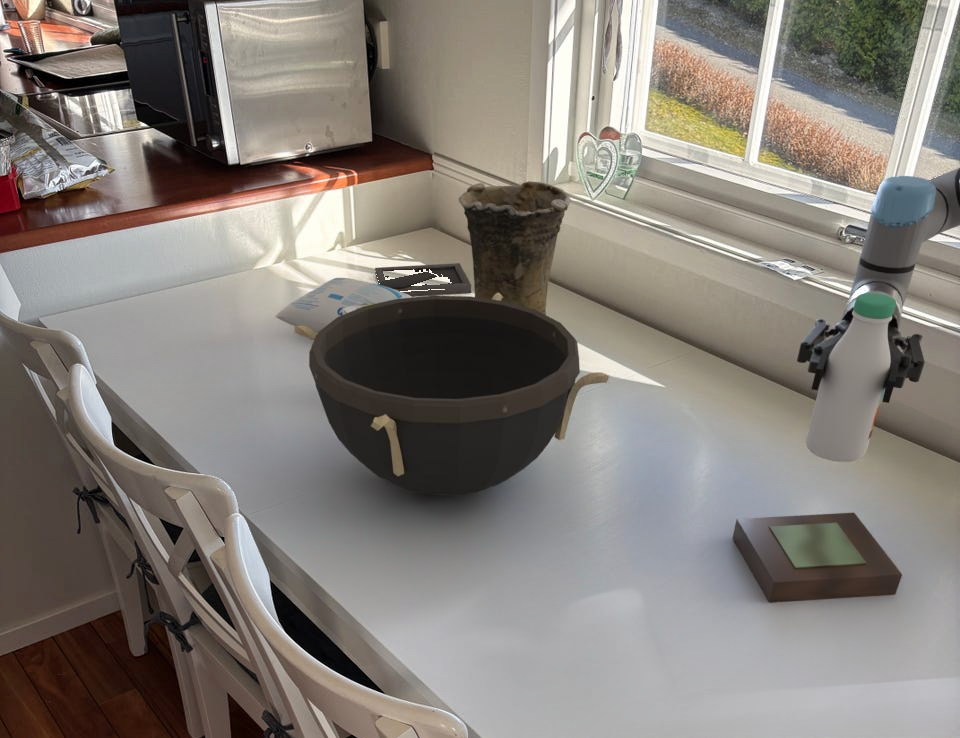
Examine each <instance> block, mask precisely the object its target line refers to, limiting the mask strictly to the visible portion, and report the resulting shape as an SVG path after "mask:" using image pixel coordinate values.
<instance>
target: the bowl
mask: <svg viewBox="0 0 960 738" xmlns="http://www.w3.org/2000/svg"><path fill="white" fill-rule="evenodd" d="M502 299H503V296H502V295H501V294H500V293H496V294H495V295H494V296H493V298H492V299H485V298H478V297H475V296H467V295H464V296H463V295H426V296H412V298H402V299H394V300H390V301H385V302H381V303H377V304H372V305H368V306H364V307H361V308H359V309H356V310H354V311H351V312H349V313H347V314H344V315H342V316H339V317H337V318H336V319H334V320H333V321H332V322H331V323H329V324H328V325H327V326H326V327H324V328H323V329H322V330H320V331H319V332H318V333H315V332H314V331H313V330H312V329H311V328H309V327H307V326H304V325H301V326H293V328H294V333H295V334H297V335H300V336H303V337H305V338H307V339H310V340H312V344H311V347H310V348H309V349H310V350H309V351H308V353H309V354H308V356H309V357H308V367H309V371H310V372H311V376H312V378H313V381H314V385H315V388H316V391H317V393H318V394H317V395H318V396H319V399H320V402H321V405H322V407H323V410H324V413H325V416H326V418H327V422H328V424H329V425H330V427H331V429H332V431H333V433H334V434H335V436H336V437H337V439H338V441H339V442H340V443H341V444H342V445H343V446H344V448H345V449H346V450H347V451H348V452H349V453H350V454H351V455H352V456H353V457H354V458H355V459H356V460H357V461H359V462H360V463H361V464H362V465H363V466H365V467H366V468H367V469H368V470H370V472H372V473H373V474H374V475H376V476H377V477H378V478H380V479H382V480H385V481H387V482H389V483H390V484H393V485H395V486H398V487H400V488H402V489H406V490H407V491H411V492H417V493H421V494H426V495H433V496H457V495H465V494H470V493H477V492H480V491H483V490H486V489H490V488H493V487H496V486H498V485H500V484H502V483H505V482H506V481H507V480H509V479H511V478H512V477H513V476H515V475H517V474H518V473H520V472H521V471H523V470H524V469H526V468H527V467H528V466H529V465H530V464H532V463H533V462H534V461H535V460H537V458H539V456H540V455H541V453H542V452H543V451H544V450H545V449H546V448H547V447H548V445H549V444H550V442H551V440H552V439H553V437H554V438H555V439H557V440H558V441H562V440H565V438H566V433H567V429H568V426H569V423H570V419H571V415H572V410H573V407H574V403H575V401H576V398H577V396H578V394H579V392H580V390H581V389H582V388H584V387H586V386H588V385H589V386H590V385H596V384H607V383H608V381H609V378H610V375H609V374H607V373H605V372H601V371H597V372H590V373H588V374H585V375H583V376H582V377H580V378H579V379H577V378H578V376H579V375H580V373H581V371H580V370H581V369H580V367H581V366H580V353H579V346H578V340H577V339H576V338H575V337H574V336H573V335H572V333H571V332H570V331H569V330H568V329H567V328H566V327H565V326H564V324H562V322H560V321H558V320H556V319H554V318H553V317H550V316H548V315H547V314H546V315H545V314H543V313H541V312H539V311H537V310H534V309H530V308H527V307H523V306H520V305H516V304H513V303H510V302H506V301H501V300H502Z"/></svg>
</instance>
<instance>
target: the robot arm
mask: <svg viewBox="0 0 960 738" xmlns="http://www.w3.org/2000/svg"><path fill="white" fill-rule="evenodd" d="M942 174H943V175H941V174H940V175H941V176H938V175H937V176H938V177H936V176H935V177H936V178H934V177H932V178H933V179H931V178H930V179H931V180H929V179H927V178H924V177H919V176H913V175H899V176H890V177H888V178H885V179H884V180H882V181H881V183H880V184H879V186H878V190H877V193H876V195H875V198H874V201H873V203H872V205H871V209H870V212H871V213H870V217H869V221H868V225H867V228H866V233H865V237H864V241H863V245H862V249H861V253H860V256H859V260H858V263H857V267H856V271H855V275H854V279H853V281H852V286H851V289H850V294H849V296H848V301H847V302H846V305H845V308H844V311H843V314H842V317H841V320H840V321H839V322H837V323H836V324H835V325H831V324H830V323H829V322H827V321H826V320H825V319H823V318H817V319H815V323H814V327H813V329H811V331H810V332H809V333H808V334H807V335H806V336H805V337H804V338H803V339H802V340H801V342H800V345H799V349H798V354H797V359H796V361H797V363H800V364H805V363H807V362H809V363H808V366H807V373H810V374H814V377H813V381H812V385H811V390H813V391H817V392H818V391H819V387H820V384H821V380H822V376H823V373H824V369H825V366H826V363H827V360H828V358H829V355H830V353H831V351H832V350H833V348H834V347H835V345H836V344H837V342H838V341H839V340H840V339H841V337H842V336H843V335H844V334H845V332H846V331H847V329H848V327H849V326H850V324H851V322H852V320H853V315H852V312H853V310H854V304H855V300H856V298H857V296H858V295H860V294H863V293H879V294H884V295H887V296H890V297H892V298H893V299H894V300H895V301H896V307H895V310H894V313H893V315H892V320H891V321H889V323H888V344H889V349H890V358H891V362H890V371H889V376H888V379H887V383H886V387H885V391H884V394H883V398H882V401H881V403H886V404H889V403H890V402H891V401H890V400H891V397H892V394H893V391H894V388H895V389H896V388H897V389H902V388H903V387H904V385H905V382H906V379H908V380H909V382H911V383H918V382H919V381H920V379H921V376H922V372H923V369H924V367H925V363H926V362H925V358H924V354H923V351H922V347H921V343H922V340H923V337H924V336H923V335H922V334H919V333H913V334H912V335H911V336H910V335H908V336H906V337H904V336H902V333H901V332H900V331H899V328H900V323H901V319H902V315H903V310H904V309H903V308H904V304H905V301H906V299H907V294H908V292H909V287H910V285H911V280H912V277H913V274H914V271H915V267H916V264H917V260H918V257H919V253H920V250H921V247H922V244H923V243H924V242H926V241H928V240H931V239H933V238H934V237H936V236H937V235H939V234H942V233H944V232H947V231H949V230H951V229H955V228H957V227H960V167H958V168H955V169H953V170H950V171H948V172H946V173H945V172H944V173H942ZM829 337H830V338H829ZM827 338H828V339H827ZM901 350H902V351H901Z"/></svg>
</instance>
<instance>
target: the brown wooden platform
mask: <svg viewBox="0 0 960 738" xmlns="http://www.w3.org/2000/svg"><path fill="white" fill-rule="evenodd" d="M732 540H733V542H734V543H735V546H736V547H737V549H738V550H739V553H740V554H741V556H742V558H744V561H745V563H746V565H747V566H748V568H749V570H750V571H751V573H752V575H753V577H754V578H755V580H756V582H757V584H758V586H759V587H760V589H761V590H762V592H763V594H764V596H765V597H766V599H767V601H768V603H780V602H796V601H812V600H825V599H827V600H828V599H844V598H845V599H846V598H857V597H874V596H876V597H877V596H890V595H896V594H897V591H898V588H899V586H900V582H901V580H902V578H903V573H902V572H901V571H900V569H899V568H898V567H897V565H896V564H895V563H894V562H893V560H892V559H891V557H889V555H888V553H886V551H885V550H884V549H883V548H882V546H881V545H880V544H879V543H878V541H877V540H876V538H875V537H874V536H873V534H872V533H871V532H870V530H869V529H868V528H867V527H866V525H865V524H864V523H863V522H862V520H861V519H860V518H859V517H858V515H857V514H856V513H855V512H838V513H837V512H836V513H822V514H821V513H820V514H802V515H785V516H783V515H782V516H764V517H749V518H748V517H747V518H736V520H735V525H734V528H733V534H732Z"/></svg>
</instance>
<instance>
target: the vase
mask: <svg viewBox="0 0 960 738" xmlns="http://www.w3.org/2000/svg"><path fill="white" fill-rule="evenodd" d="M466 189H467V190H466V191H464V192H463V193H462V194H461V195H460V196H459V198H458V203H459V204H460V205H461V206H462V208H463V210H464V212H463V213H464V216H465V218H466V221H467V230H468V232H469V238H470V246H471V256H472V267H473V268H472V270H473V282H474V283H473V284H474V288H473V289H474V297H478V298H485V299H492V298H493V296H494V295H495V294H496V293H500V294H501V295H502V296H503V299H502V300H501V301H506V302H510V303H513V304H516V305H520V306H523V307H527V308H530V309H534V310H537V311H539V312H541V313H543V314H545V315H547V297H548V289H549V281H550V275H551V269H552V265H553V260H554V255H555V251H556V246H557V241H558V235H559V233H560V231H561V226H562V223H563V219H564V218H565V212H566V211H568V208H569V205H570V204H571V197H570V196H569V195H568V194H567V193H566V191H565V190H564V189H563V188H560V187H557V186H554V185H552V184H549V183H545V182H541V181H531V180H528V181H525V182H522V183H521V184H513V185H492V186H491V185H490V186H485V184H484V182H480V183H475V184H473V185H470V186H469V187H468V188H466Z"/></svg>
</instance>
